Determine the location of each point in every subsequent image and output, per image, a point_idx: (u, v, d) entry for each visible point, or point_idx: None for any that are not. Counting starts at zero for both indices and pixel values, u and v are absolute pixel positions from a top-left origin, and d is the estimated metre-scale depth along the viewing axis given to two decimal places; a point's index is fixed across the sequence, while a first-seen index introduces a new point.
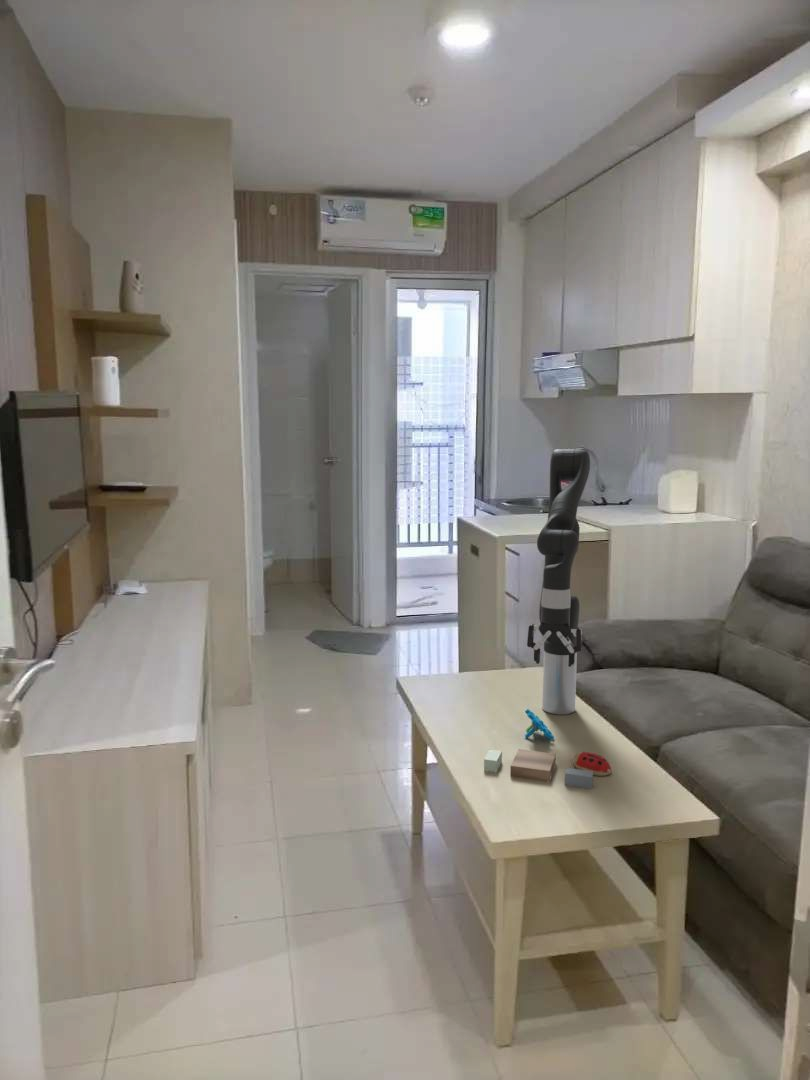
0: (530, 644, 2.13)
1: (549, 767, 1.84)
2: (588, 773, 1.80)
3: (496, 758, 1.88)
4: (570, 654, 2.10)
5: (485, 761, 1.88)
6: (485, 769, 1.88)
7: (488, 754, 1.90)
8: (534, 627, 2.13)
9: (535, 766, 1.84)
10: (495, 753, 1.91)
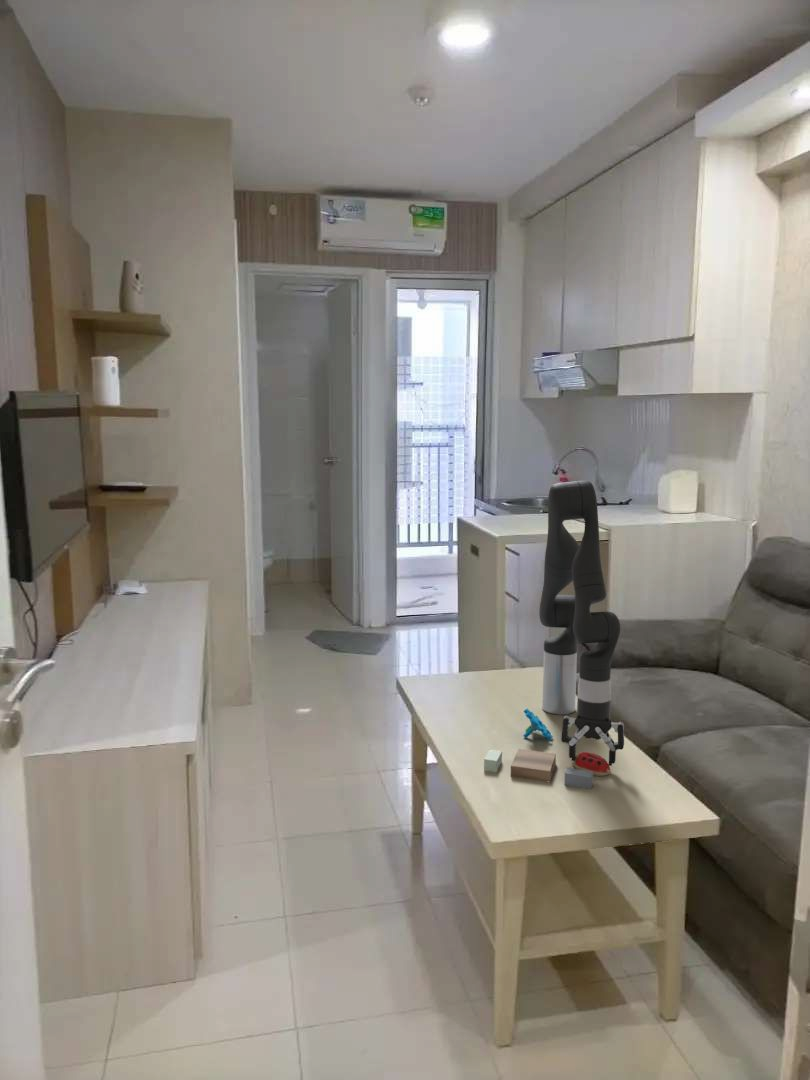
0: (565, 739, 1.88)
1: (549, 767, 1.84)
2: (588, 773, 1.80)
3: (496, 758, 1.88)
4: (611, 752, 1.85)
5: (485, 761, 1.88)
6: (485, 769, 1.88)
7: (488, 754, 1.90)
8: (569, 720, 1.88)
9: (535, 766, 1.84)
10: (495, 753, 1.91)
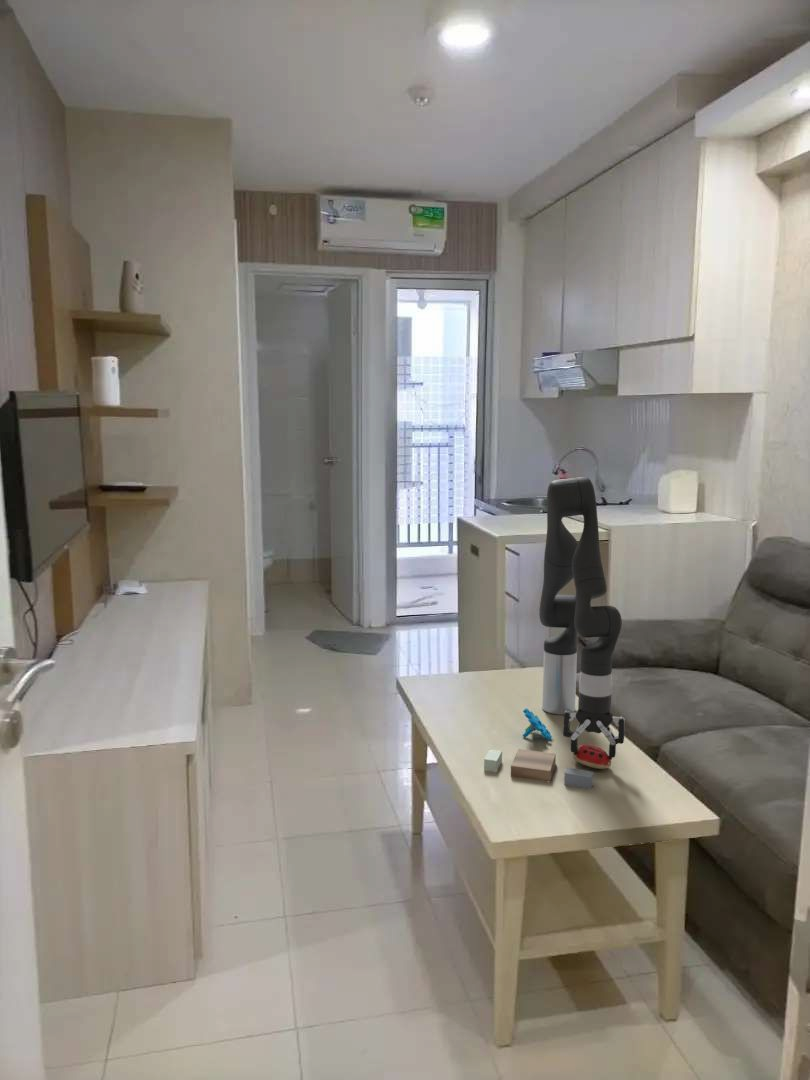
0: (567, 734, 1.89)
1: (549, 767, 1.84)
2: (588, 773, 1.80)
3: (496, 758, 1.88)
4: (611, 746, 1.86)
5: (485, 761, 1.88)
6: (485, 769, 1.88)
7: (488, 754, 1.90)
8: (570, 714, 1.88)
9: (535, 766, 1.84)
10: (495, 753, 1.91)
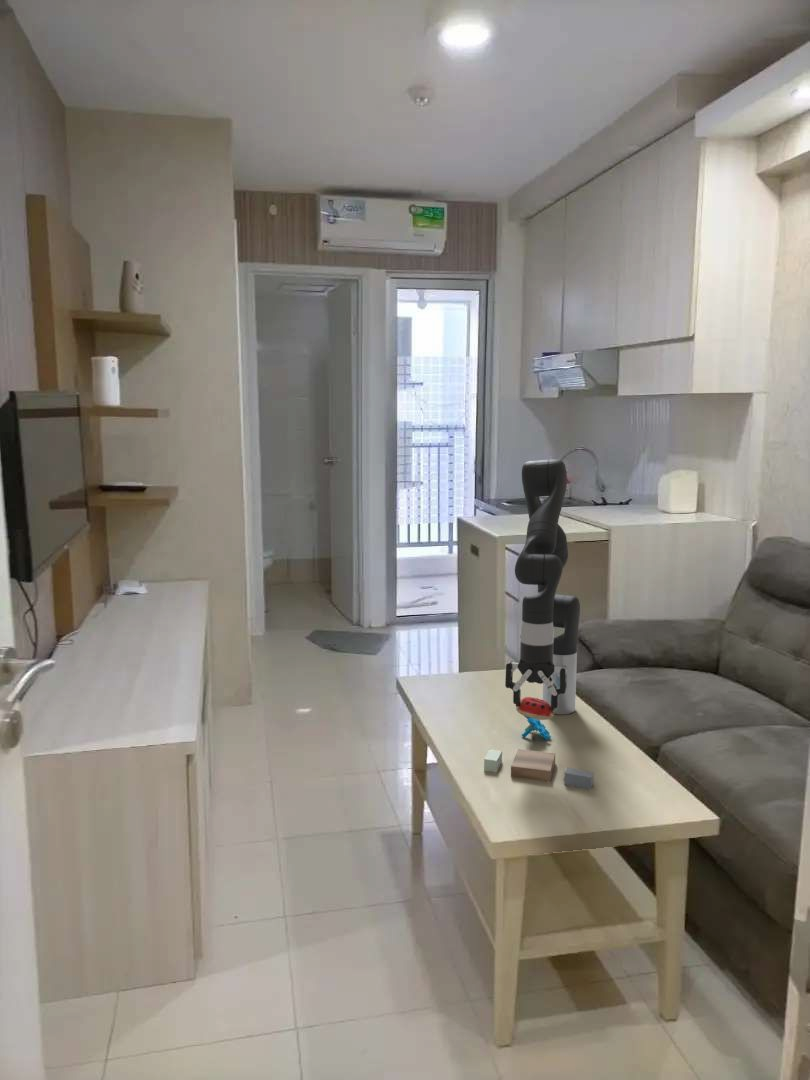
0: (509, 685, 1.86)
1: (549, 767, 1.84)
2: (588, 773, 1.80)
3: (496, 758, 1.88)
4: (553, 696, 1.83)
5: (485, 761, 1.88)
6: (485, 769, 1.88)
7: (488, 754, 1.90)
8: (512, 665, 1.86)
9: (535, 766, 1.84)
10: (495, 753, 1.91)
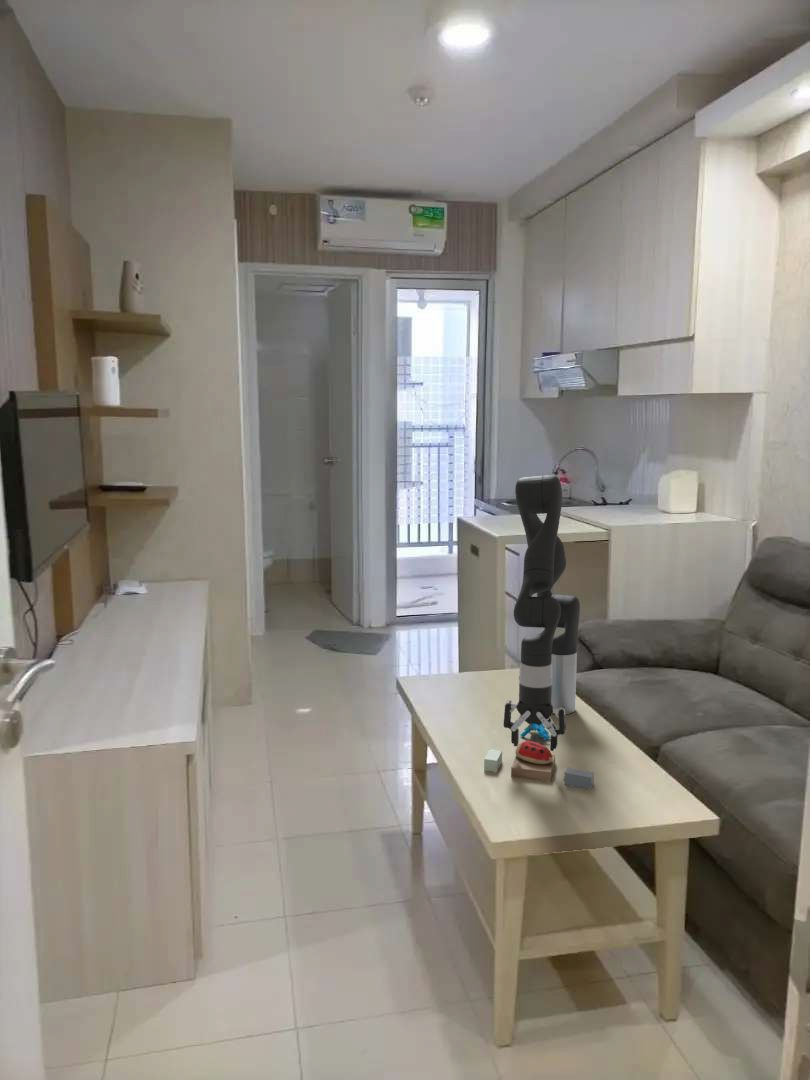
0: (507, 725, 1.87)
1: (550, 768, 1.84)
2: (588, 773, 1.80)
3: (496, 758, 1.88)
4: (552, 737, 1.85)
5: (485, 761, 1.88)
6: (485, 769, 1.88)
7: (488, 754, 1.90)
8: (511, 705, 1.87)
9: (536, 767, 1.85)
10: (495, 753, 1.91)
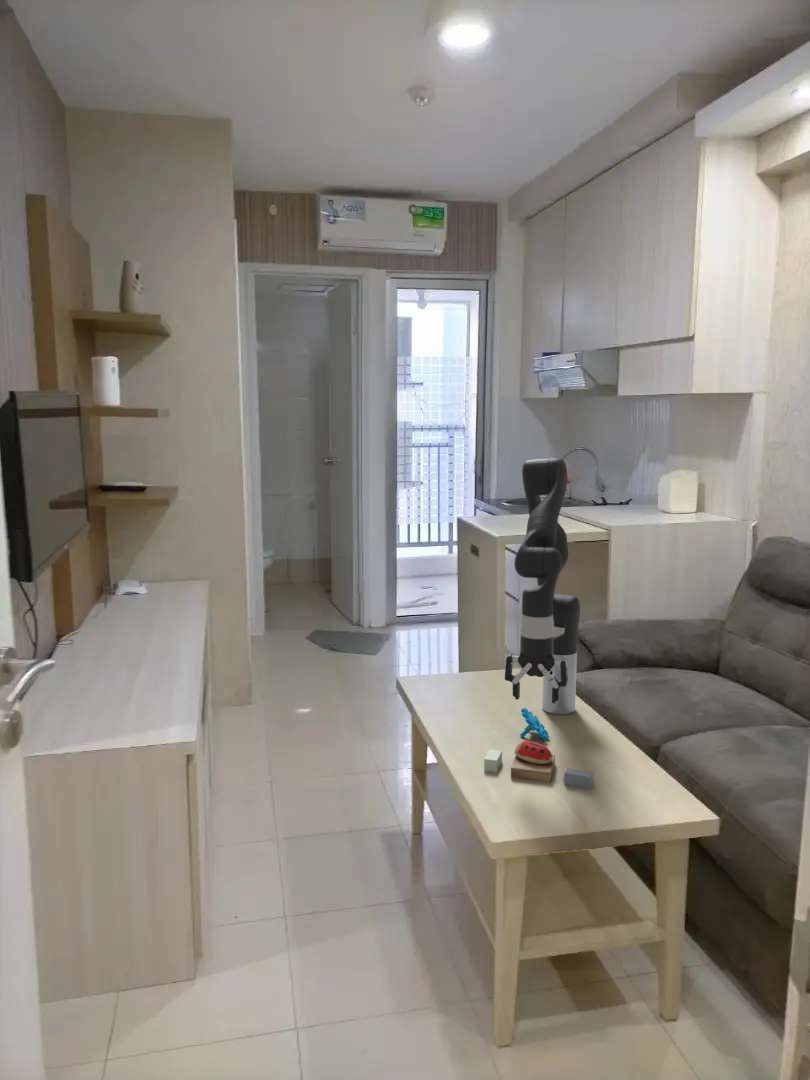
0: (508, 678, 1.86)
1: (549, 768, 1.83)
2: (588, 773, 1.80)
3: (496, 758, 1.88)
4: (554, 689, 1.83)
5: (485, 761, 1.88)
6: (485, 769, 1.88)
7: (488, 754, 1.90)
8: (512, 658, 1.85)
9: (535, 767, 1.84)
10: (495, 753, 1.91)
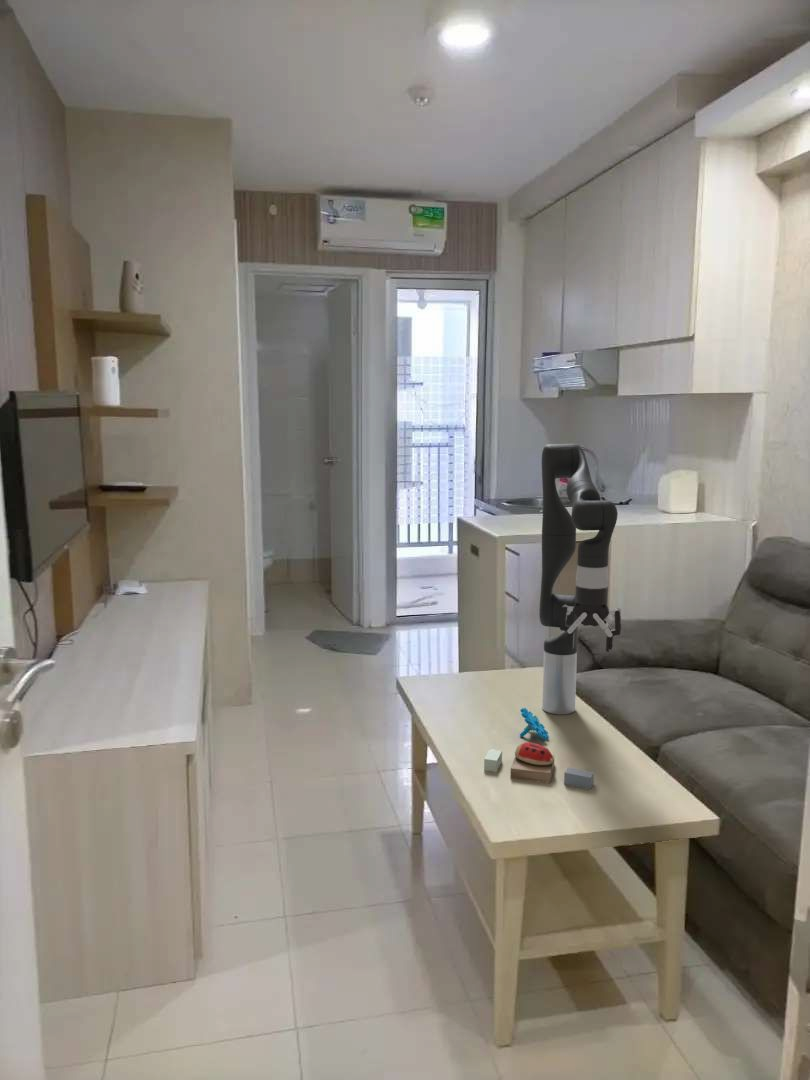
0: (563, 627, 1.93)
1: (549, 769, 1.83)
2: (588, 773, 1.80)
3: (496, 758, 1.88)
4: (608, 638, 1.90)
5: (485, 761, 1.88)
6: (485, 769, 1.88)
7: (488, 754, 1.91)
8: (567, 608, 1.93)
9: (535, 768, 1.84)
10: (495, 753, 1.91)
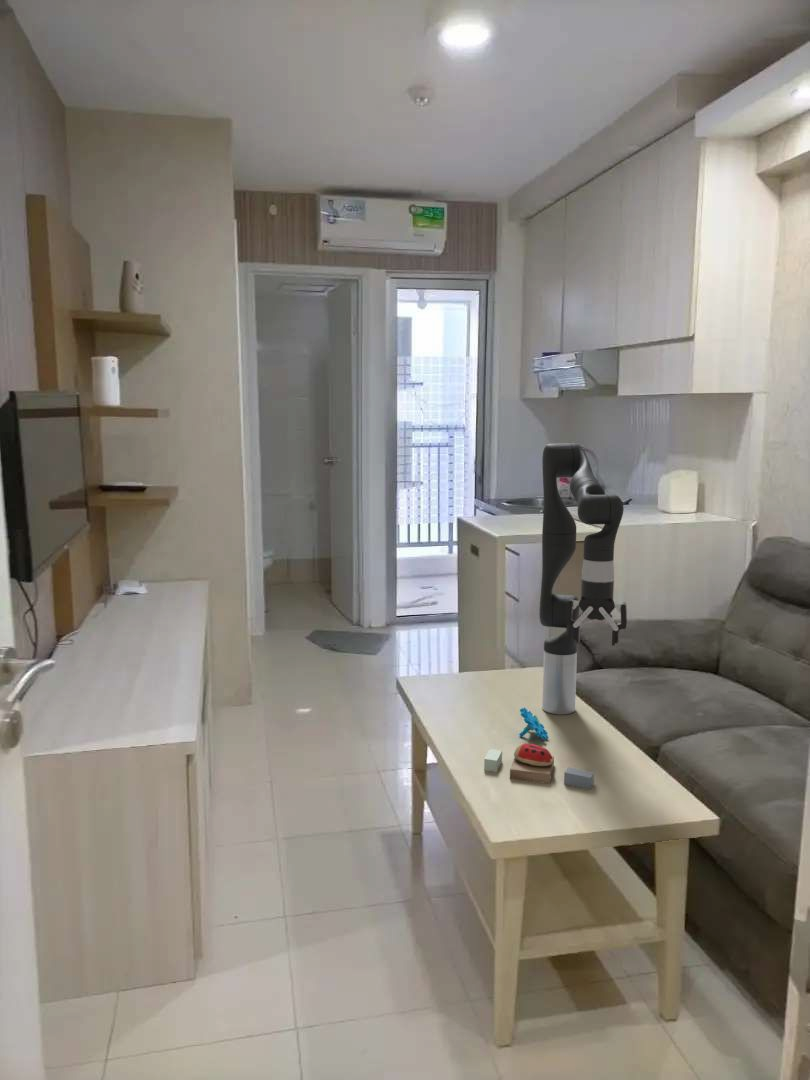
0: (569, 621, 1.93)
1: (549, 770, 1.83)
2: (588, 774, 1.80)
3: (496, 758, 1.88)
4: (614, 632, 1.90)
5: (485, 761, 1.88)
6: (485, 769, 1.88)
7: (488, 754, 1.91)
8: (573, 603, 1.93)
9: (535, 769, 1.84)
10: (495, 753, 1.91)
